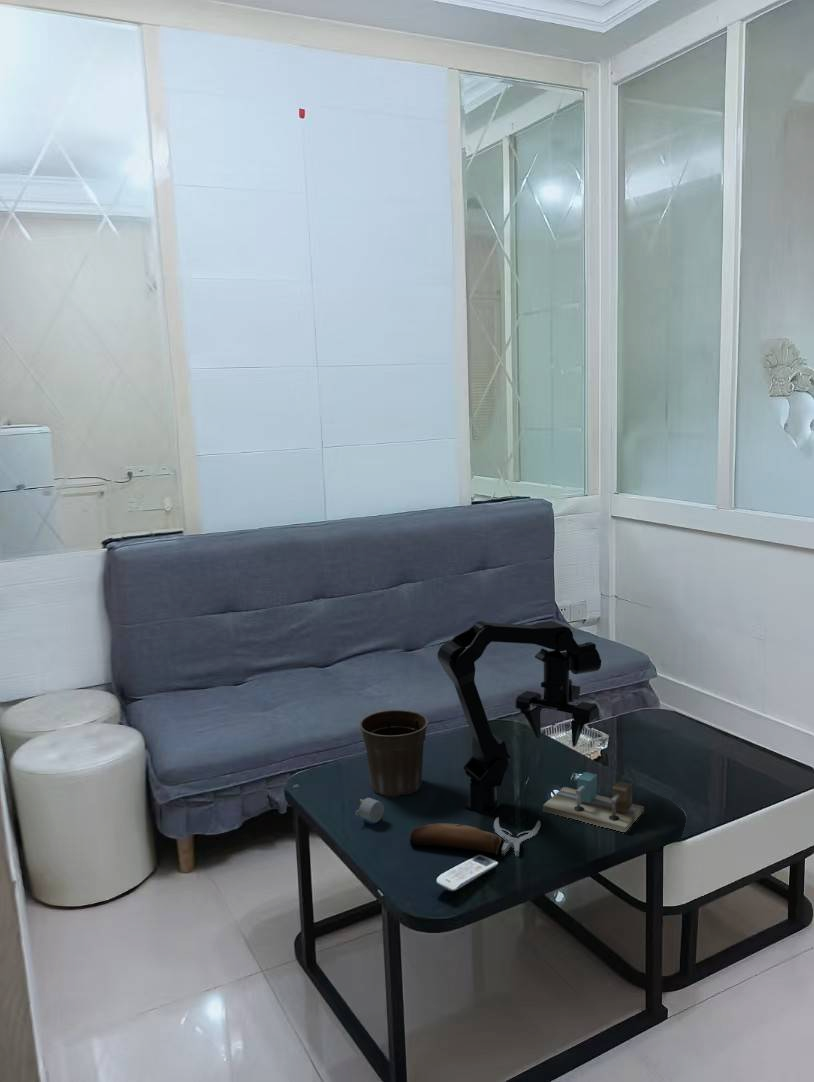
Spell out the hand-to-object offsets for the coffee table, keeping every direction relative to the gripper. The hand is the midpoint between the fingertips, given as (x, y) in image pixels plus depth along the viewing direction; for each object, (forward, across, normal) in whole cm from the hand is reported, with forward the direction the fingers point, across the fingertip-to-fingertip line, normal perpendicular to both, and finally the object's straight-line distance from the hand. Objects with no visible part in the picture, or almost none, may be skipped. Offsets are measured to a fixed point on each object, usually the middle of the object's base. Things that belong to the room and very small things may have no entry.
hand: (556, 741), depth 199 cm
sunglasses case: (+12, +6, +33) cm, 36 cm away
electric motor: (+12, +28, +35) cm, 47 cm away
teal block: (+10, -10, +6) cm, 15 cm away
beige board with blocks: (+12, -12, +6) cm, 18 cm away
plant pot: (+12, +33, +18) cm, 40 cm away
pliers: (+13, -3, +25) cm, 28 cm away
